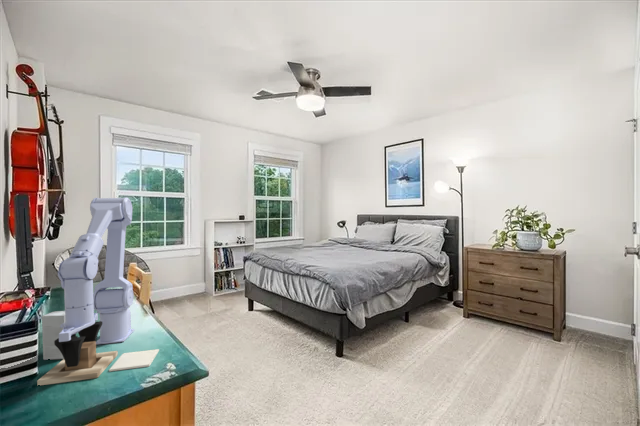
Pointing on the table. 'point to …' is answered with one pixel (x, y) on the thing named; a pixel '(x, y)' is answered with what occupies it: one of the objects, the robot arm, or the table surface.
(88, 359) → the walnut block
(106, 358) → the board
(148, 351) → the tile
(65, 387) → the table surface
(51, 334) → the skincare box
